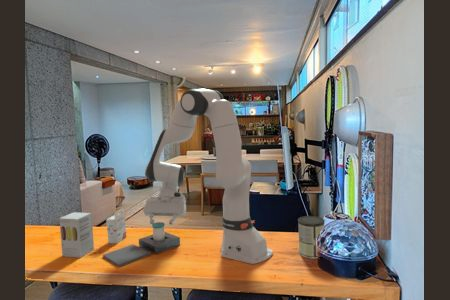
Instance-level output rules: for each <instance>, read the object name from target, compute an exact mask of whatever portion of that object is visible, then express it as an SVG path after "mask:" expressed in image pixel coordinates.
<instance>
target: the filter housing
mask: <svg viewBox="0 0 450 300" xmlns="http://www.w3.org/2000/svg"><path fill="white" fill-rule="evenodd" d="M164 232H165V239H164V240H162V241H159V242H156V241H154V239H153V234H150V235H147V236H144V237H141V238H138V247H140V248H142V249H144V250H146V251H148V252H150V254H154V255H159V254H160V253H163V252H165V251H168V250H171V249H173V248H177V247H179V246H180V245H181V237H180V236H177V235H175V234H172V233H170V232H167V231H164Z"/></svg>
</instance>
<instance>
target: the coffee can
mask: <svg viewBox="0 0 450 300" xmlns="http://www.w3.org/2000/svg"><path fill="white" fill-rule="evenodd" d="M297 222H298V227H297V228H298V255H300V256H301V257H303V258H306V259H310V260H311V259H312V260H314V259H315V260H316V259H317V258H318V255H317V250H316V238H317V237H318V236H319V233H320V231H321V230H322V228H323V227H324V228H325V222H326V221H325V219H324V218H323V217H321V216H315V215H305V216H300V217H298V219H297ZM318 259H319V258H318Z"/></svg>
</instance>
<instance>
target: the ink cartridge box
mask: <svg viewBox="0 0 450 300" xmlns="http://www.w3.org/2000/svg"><path fill="white" fill-rule="evenodd" d="M124 209H125V208H120V209H119V210H117V211H115V212H114V214H113V215H112V216H110V217H108V218H107V219H106V220H105V222H106V231H107V241H108V242H107V243H108V244H119V243H120V242H122V241H123V240H124V239H126V238H127V230H126V229H127V228H126V227H127V226H126V216H125V210H124Z"/></svg>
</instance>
